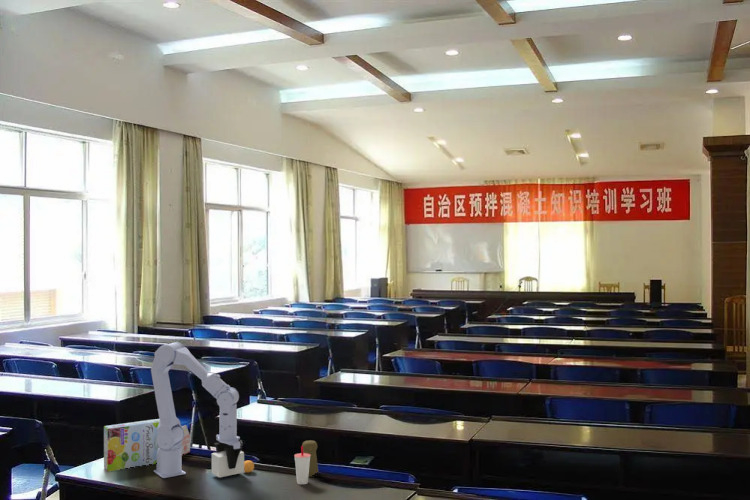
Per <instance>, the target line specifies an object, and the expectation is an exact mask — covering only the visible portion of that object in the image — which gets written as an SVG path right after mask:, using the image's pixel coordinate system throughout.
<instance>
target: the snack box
mask: <svg viewBox="0 0 750 500" xmlns="http://www.w3.org/2000/svg"><path fill="white" fill-rule="evenodd" d="M159 422H160V419H159V418H157V419H156V418H155V419H147V420H140V421H134V422H133V421H132V422H126V423H125V422H124V423H118V424H117V423H116V424H111V425H104V426H103V469H104V470H105V469H106V470H105V471H106V472H108V473H110V472H115V470H116V471H120V469H122V470H126V469H125V468H128V469H131V468H130V467H134V468H136V467H135V466H140V467H143V466H142V465H146V466H150V465H149V464H152V465H157V464H156V463H157V451H158V449H159V448H160V447H159V446H158V444H157V441H156V438H157V434H158V431H157V427H158V425H159Z"/></svg>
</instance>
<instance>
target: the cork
mask: <svg viewBox="0 0 750 500" xmlns="http://www.w3.org/2000/svg"><path fill="white" fill-rule="evenodd" d="M301 446H303V453H308V454H310V455H311V456H310V465H309V475H308V477H313V476H312V475H314V474H315V473H317V472H318V473H319V466H318V465H319V464H318V458H317V449H318V443H317V442H316V441H315V440H311V439H310V440H305V441H303V442H302V445H301Z"/></svg>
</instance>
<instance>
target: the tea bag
mask: <svg viewBox="0 0 750 500" xmlns="http://www.w3.org/2000/svg"><path fill="white" fill-rule="evenodd" d="M181 426H182V428H183V429H184V432H185V436H184V438H183V440H182V441H181V444H182V456H184V455H186V454H188V453H190V452H191V434H190V432H189V429H188V425H187V424H184V425H181ZM183 454H184V455H183Z"/></svg>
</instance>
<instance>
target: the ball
mask: <svg viewBox="0 0 750 500" xmlns="http://www.w3.org/2000/svg"><path fill="white" fill-rule="evenodd" d="M254 469H255V464H254V462H253V460H244V473H249V474H250V473H251V472H253V470H254Z"/></svg>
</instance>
